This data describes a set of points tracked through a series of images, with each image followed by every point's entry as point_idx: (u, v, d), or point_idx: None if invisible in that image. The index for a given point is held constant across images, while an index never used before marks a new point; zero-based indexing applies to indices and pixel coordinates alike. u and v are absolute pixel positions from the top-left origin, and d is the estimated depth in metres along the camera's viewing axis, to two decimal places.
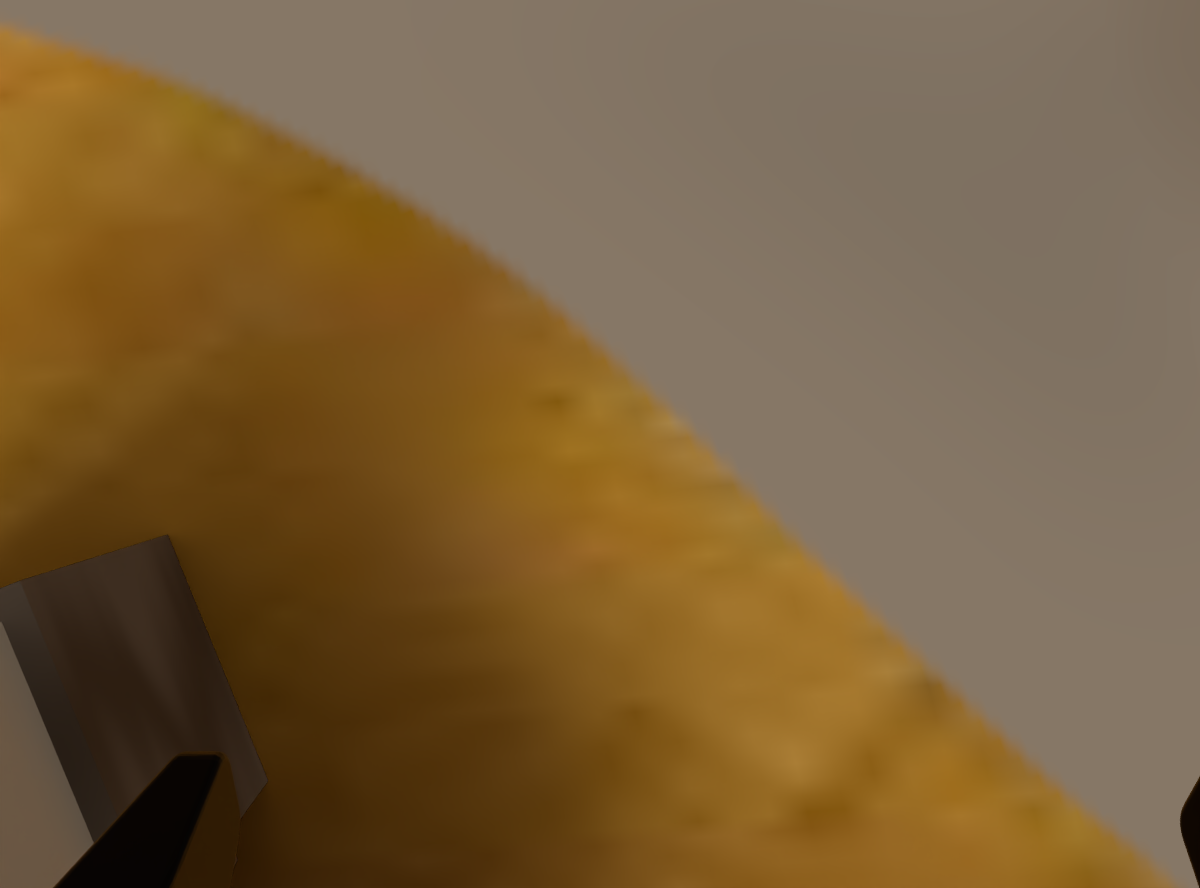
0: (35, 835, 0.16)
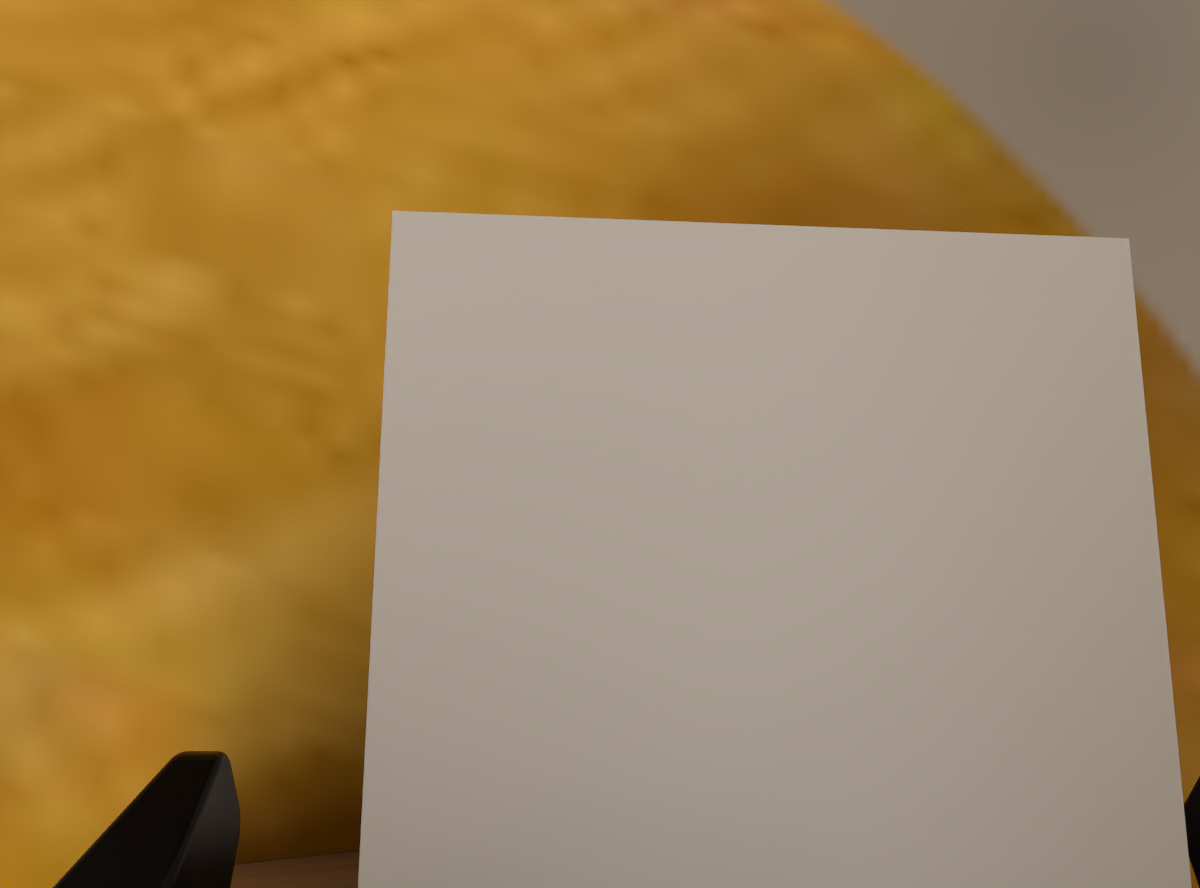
0: None
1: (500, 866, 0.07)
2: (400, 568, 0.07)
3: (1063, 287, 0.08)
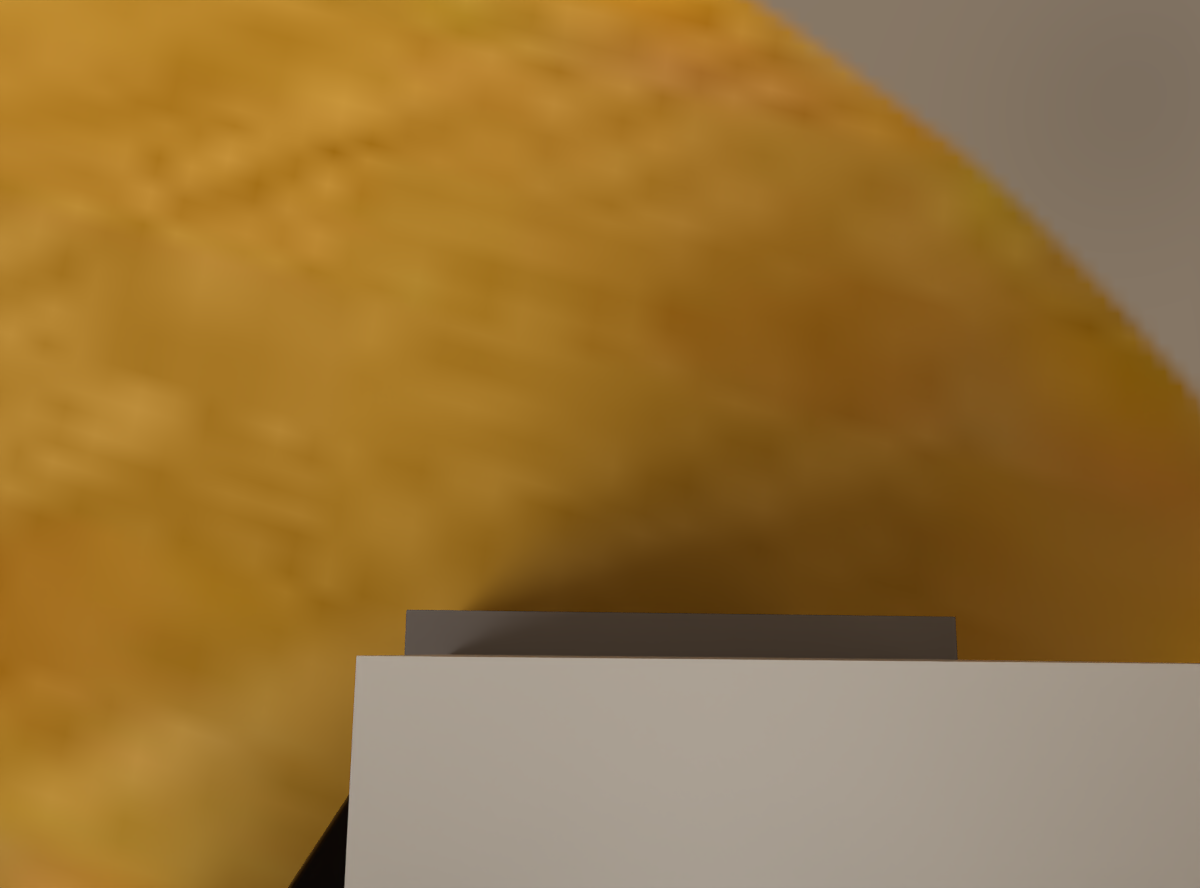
0: None
1: None
2: None
3: None
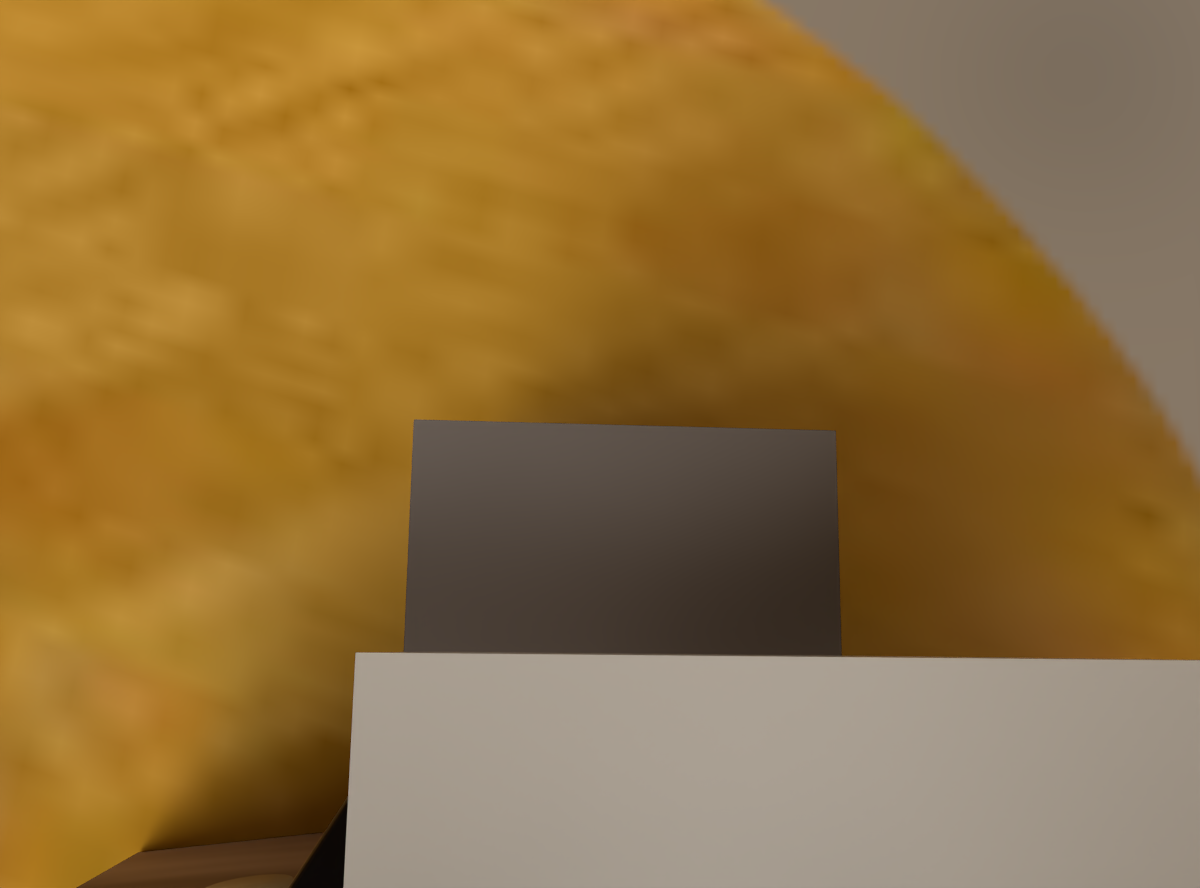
0: None
1: None
2: None
3: None
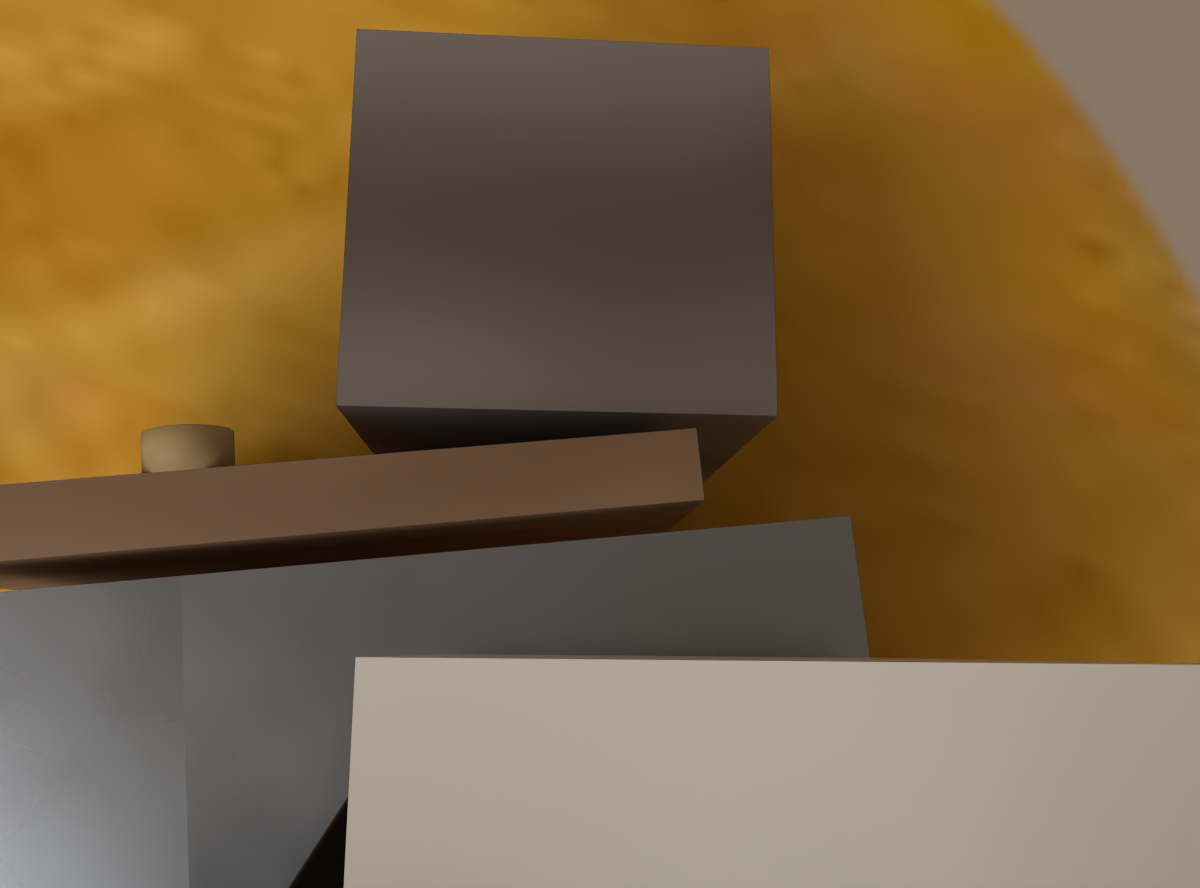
0: None
1: None
2: None
3: None
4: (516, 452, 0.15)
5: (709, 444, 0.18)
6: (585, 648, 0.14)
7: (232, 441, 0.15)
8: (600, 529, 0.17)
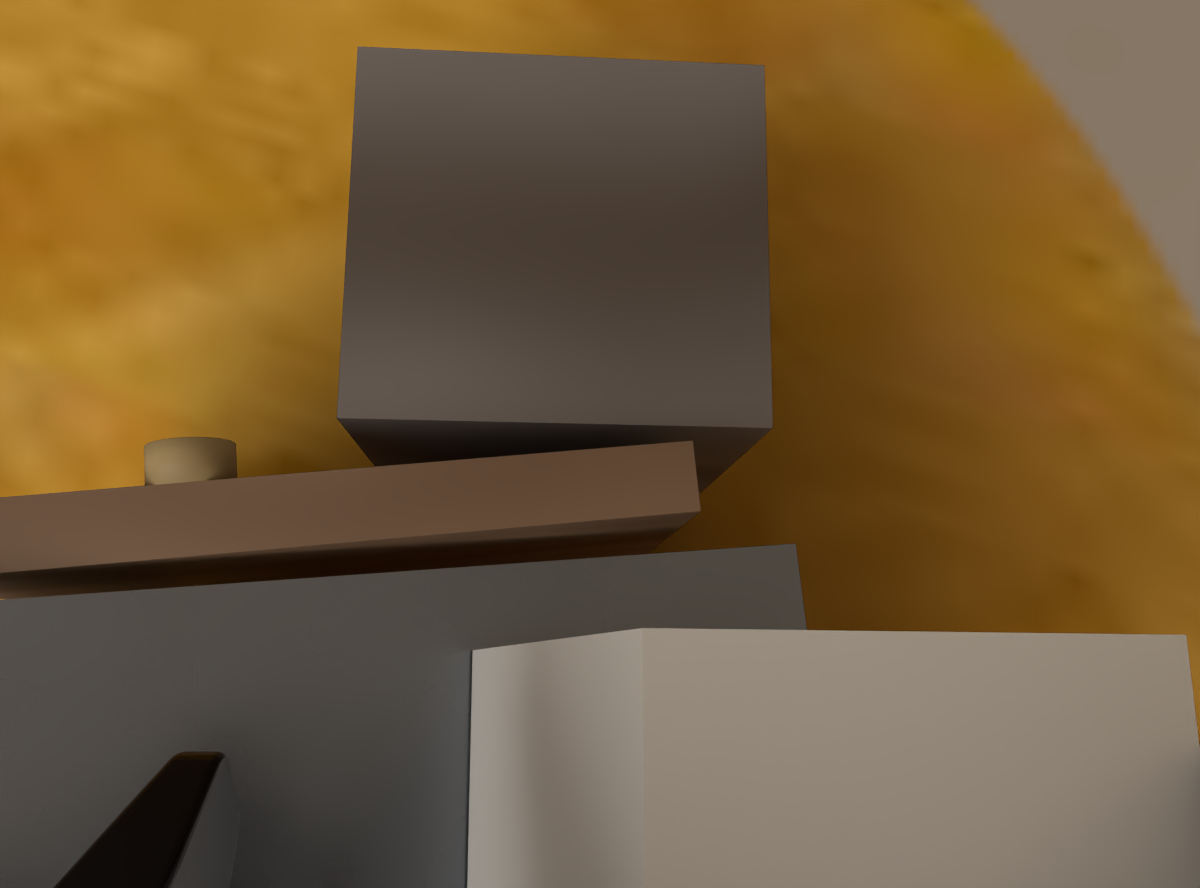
0: None
1: None
2: None
3: (1144, 678, 0.10)
4: (515, 464, 0.15)
5: (705, 455, 0.19)
6: None
7: (234, 453, 0.15)
8: (598, 540, 0.18)
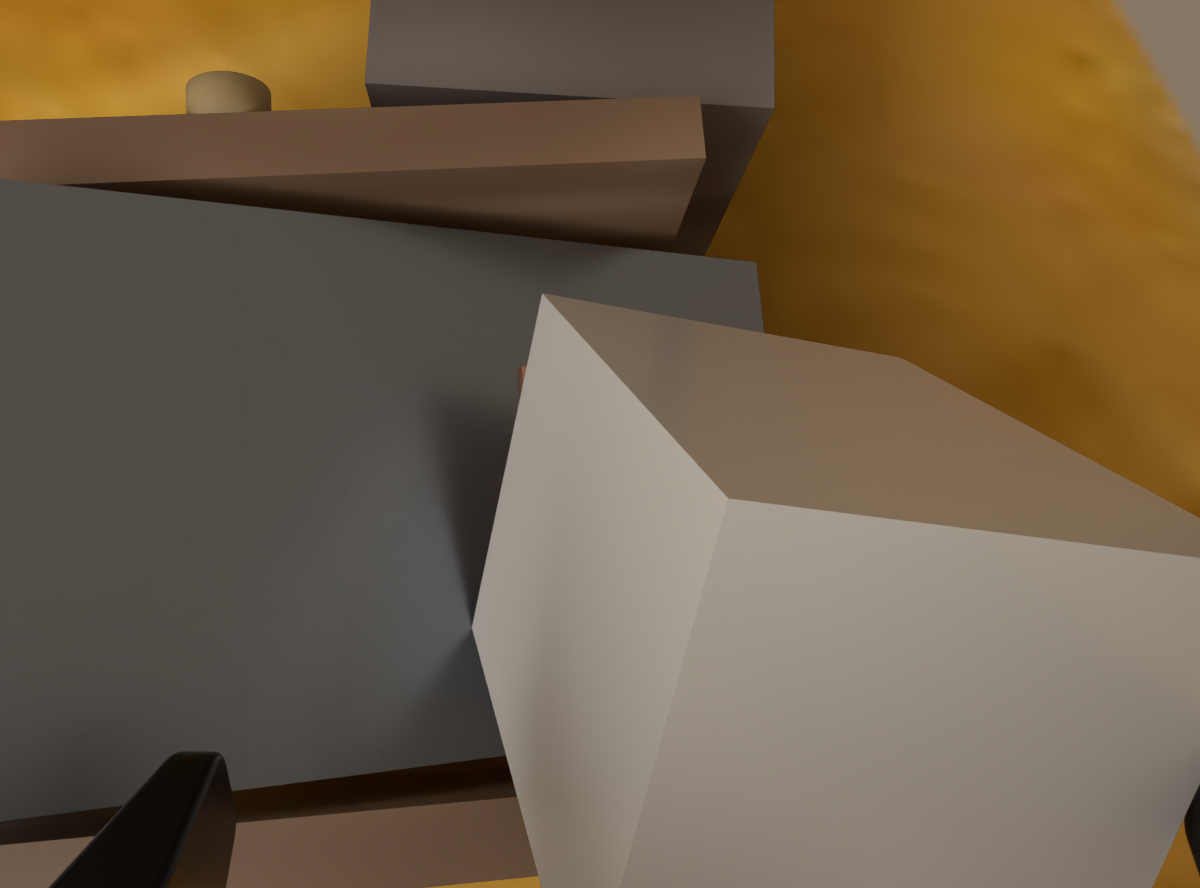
0: None
1: None
2: (666, 795, 0.09)
3: None
4: (533, 109, 0.16)
5: (710, 171, 0.20)
6: None
7: (269, 100, 0.16)
8: (607, 235, 0.19)
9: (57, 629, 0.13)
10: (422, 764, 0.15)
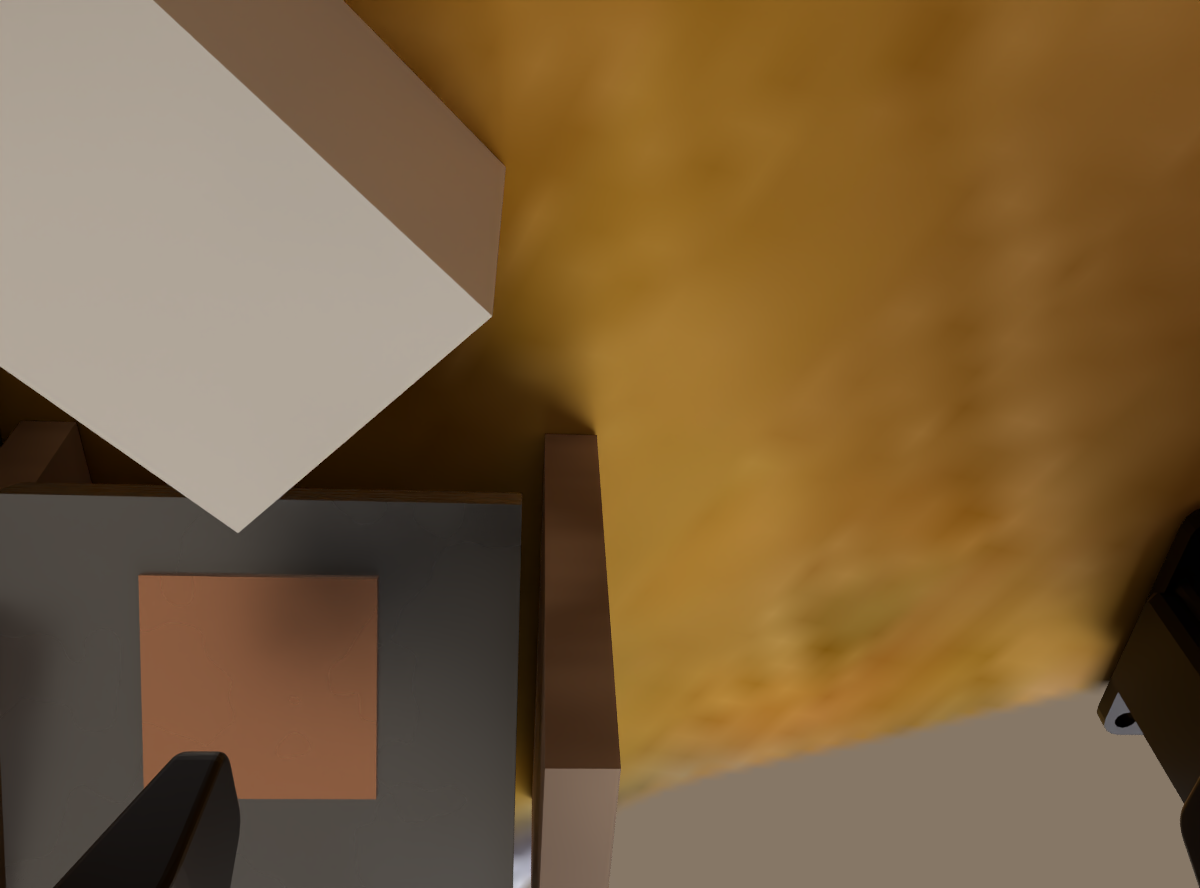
0: None
1: None
2: None
3: None
4: None
5: None
6: (94, 735, 0.17)
7: None
8: None
9: None
10: None
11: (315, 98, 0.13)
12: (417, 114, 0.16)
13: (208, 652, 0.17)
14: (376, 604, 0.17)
